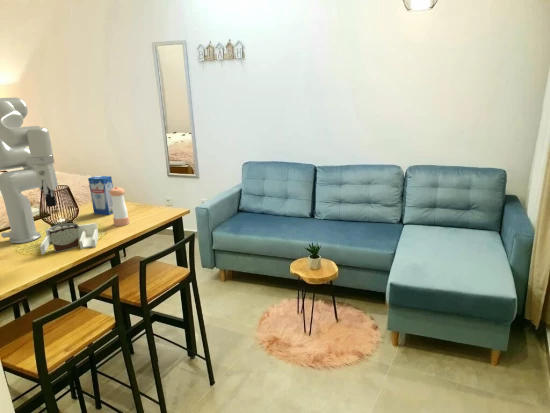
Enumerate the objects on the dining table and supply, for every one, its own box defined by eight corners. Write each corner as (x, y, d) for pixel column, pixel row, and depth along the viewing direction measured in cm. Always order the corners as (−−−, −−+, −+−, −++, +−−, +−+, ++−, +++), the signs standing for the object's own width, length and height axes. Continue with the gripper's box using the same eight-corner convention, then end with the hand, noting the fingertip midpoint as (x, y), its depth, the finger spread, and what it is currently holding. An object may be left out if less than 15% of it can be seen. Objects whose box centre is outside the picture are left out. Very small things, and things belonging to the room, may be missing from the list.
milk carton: (94, 214, 222) (87, 178, 216) (101, 210, 228) (96, 175, 222) (109, 215, 219) (103, 178, 213) (116, 211, 225) (111, 176, 219)
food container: (78, 241, 182) (74, 220, 179) (82, 245, 177) (78, 223, 175) (48, 249, 174) (43, 227, 171) (51, 253, 170) (47, 231, 167)
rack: (41, 254, 169) (38, 241, 167) (48, 241, 183) (45, 229, 181) (95, 246, 175) (93, 233, 174) (98, 235, 189) (96, 222, 188)
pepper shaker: (124, 226, 200) (118, 188, 195) (111, 226, 202) (105, 188, 196) (132, 221, 207) (127, 185, 201) (119, 221, 208) (113, 184, 203)
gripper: (49, 163, 151) (58, 210, 157) (57, 156, 165) (65, 200, 170) (27, 164, 149) (37, 212, 155) (36, 157, 163) (45, 201, 168)
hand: (51, 205), depth 162 cm, fingers closed
